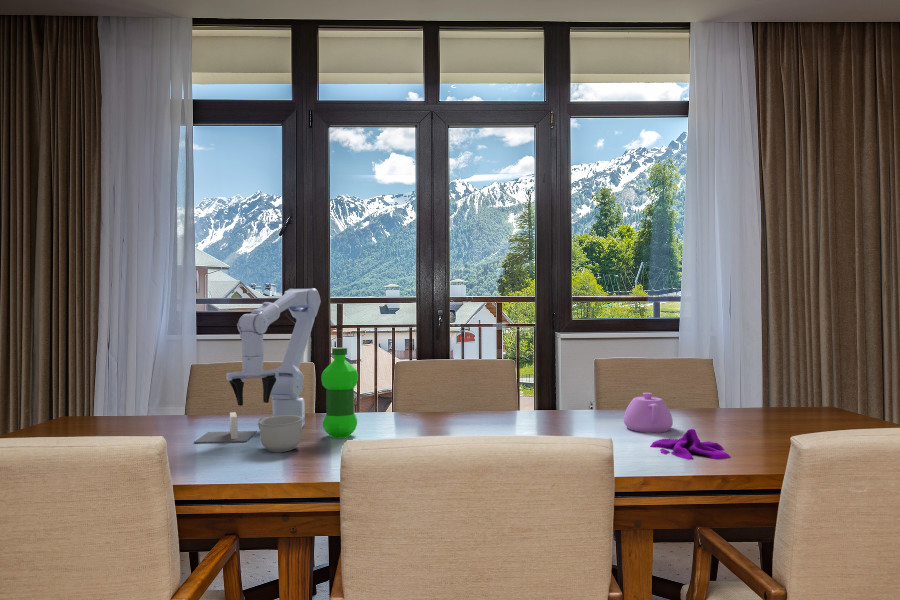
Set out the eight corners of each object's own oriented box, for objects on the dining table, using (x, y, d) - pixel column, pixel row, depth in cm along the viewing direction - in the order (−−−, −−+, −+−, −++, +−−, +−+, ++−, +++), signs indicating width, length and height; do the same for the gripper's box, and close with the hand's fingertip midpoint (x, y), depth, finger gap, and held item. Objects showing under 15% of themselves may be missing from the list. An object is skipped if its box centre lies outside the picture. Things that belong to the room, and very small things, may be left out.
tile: (237, 438, 174) (237, 416, 174) (231, 438, 174) (231, 417, 174) (235, 432, 182) (235, 412, 182) (229, 433, 181) (229, 412, 181)
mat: (256, 432, 184) (256, 430, 184) (246, 442, 172) (246, 440, 172) (207, 433, 183) (207, 432, 183) (193, 443, 170) (193, 442, 170)
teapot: (662, 421, 195) (661, 387, 195) (681, 435, 175) (680, 397, 175) (617, 421, 196) (616, 387, 196) (630, 435, 176) (630, 397, 176)
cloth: (645, 442, 170) (645, 419, 170) (718, 445, 166) (718, 422, 166) (656, 463, 148) (656, 437, 148) (741, 467, 144) (741, 440, 144)
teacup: (310, 449, 163) (309, 418, 163) (271, 456, 155) (271, 424, 155) (283, 441, 173) (283, 412, 173) (246, 447, 165) (246, 417, 165)
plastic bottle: (318, 434, 181) (317, 347, 181) (353, 431, 185) (353, 346, 185) (325, 441, 171) (325, 350, 171) (363, 437, 176) (362, 348, 176)
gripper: (271, 353, 186) (272, 399, 186) (222, 356, 177) (222, 404, 177) (281, 355, 180) (281, 402, 180) (230, 358, 171) (231, 408, 171)
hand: (253, 403), depth 178 cm, fingers open, 7 cm apart
